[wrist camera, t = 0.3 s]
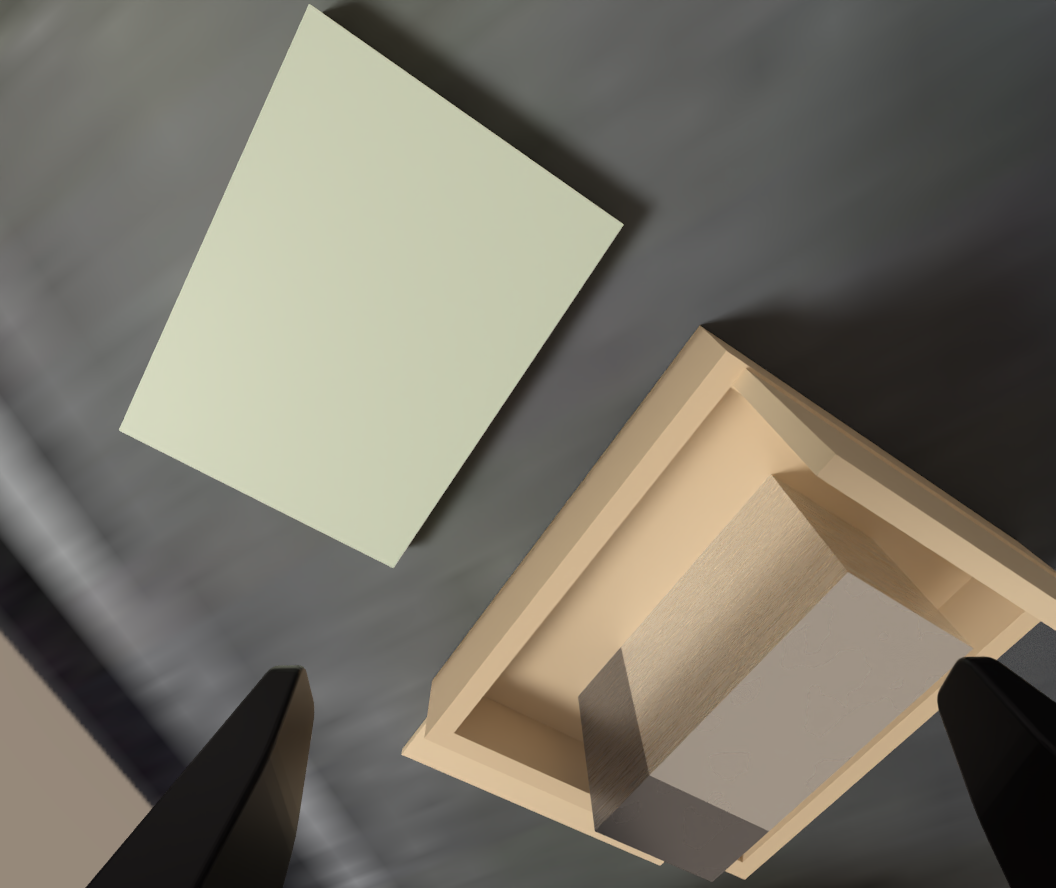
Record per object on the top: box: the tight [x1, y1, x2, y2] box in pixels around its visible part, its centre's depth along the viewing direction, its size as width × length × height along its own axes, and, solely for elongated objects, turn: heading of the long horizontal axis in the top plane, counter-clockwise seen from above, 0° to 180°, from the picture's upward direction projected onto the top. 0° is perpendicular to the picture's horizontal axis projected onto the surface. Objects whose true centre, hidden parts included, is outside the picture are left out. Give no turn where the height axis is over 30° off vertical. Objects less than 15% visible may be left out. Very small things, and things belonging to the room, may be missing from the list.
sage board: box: [119, 4, 624, 568], centre depth 22 cm, size 14×10×1 cm
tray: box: [402, 326, 1056, 880], centre depth 24 cm, size 22×16×9 cm
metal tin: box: [578, 475, 973, 882], centre depth 24 cm, size 12×5×6 cm, turn 147°
